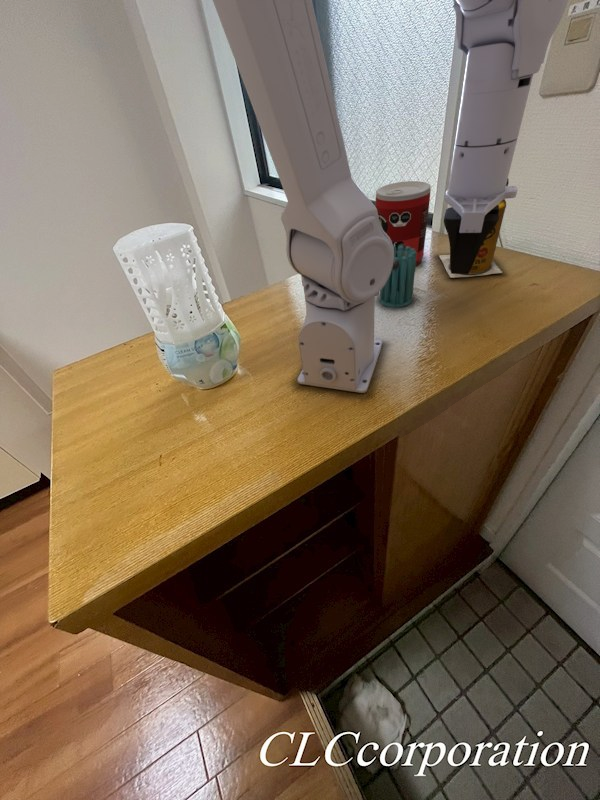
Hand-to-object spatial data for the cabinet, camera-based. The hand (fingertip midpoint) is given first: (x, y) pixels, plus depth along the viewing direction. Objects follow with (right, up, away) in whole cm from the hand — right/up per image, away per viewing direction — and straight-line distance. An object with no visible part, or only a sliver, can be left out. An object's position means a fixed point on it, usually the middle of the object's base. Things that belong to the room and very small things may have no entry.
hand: (459, 271), depth 44 cm
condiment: (+6, +5, +10) cm, 13 cm away
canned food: (-4, +7, +15) cm, 17 cm away
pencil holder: (-5, 0, +3) cm, 6 cm away
